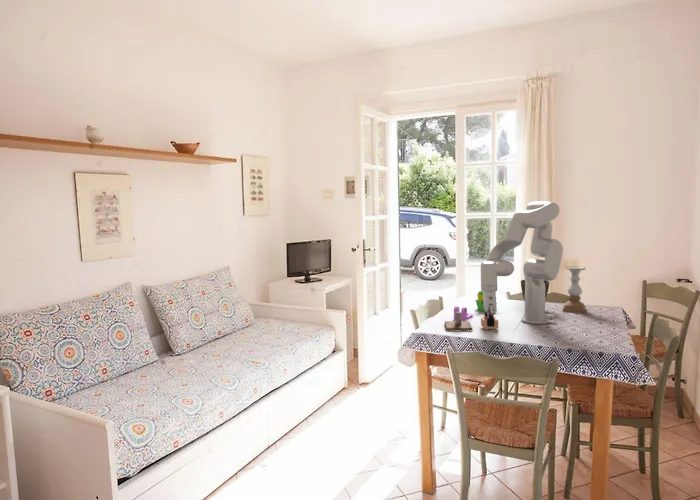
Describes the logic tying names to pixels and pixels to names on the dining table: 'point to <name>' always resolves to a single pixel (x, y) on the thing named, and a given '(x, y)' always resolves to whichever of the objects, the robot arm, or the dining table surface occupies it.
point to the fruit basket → (480, 301)
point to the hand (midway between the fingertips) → (489, 323)
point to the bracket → (463, 313)
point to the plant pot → (524, 288)
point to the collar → (484, 323)
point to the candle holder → (574, 292)
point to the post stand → (458, 323)
